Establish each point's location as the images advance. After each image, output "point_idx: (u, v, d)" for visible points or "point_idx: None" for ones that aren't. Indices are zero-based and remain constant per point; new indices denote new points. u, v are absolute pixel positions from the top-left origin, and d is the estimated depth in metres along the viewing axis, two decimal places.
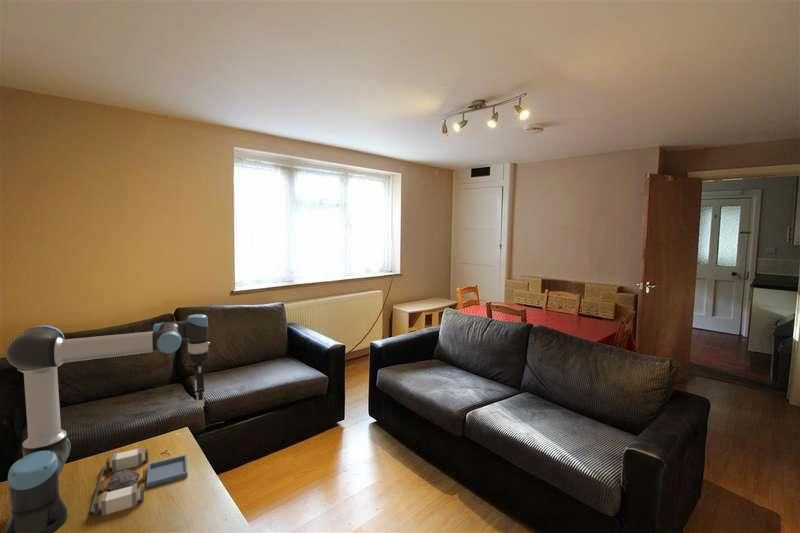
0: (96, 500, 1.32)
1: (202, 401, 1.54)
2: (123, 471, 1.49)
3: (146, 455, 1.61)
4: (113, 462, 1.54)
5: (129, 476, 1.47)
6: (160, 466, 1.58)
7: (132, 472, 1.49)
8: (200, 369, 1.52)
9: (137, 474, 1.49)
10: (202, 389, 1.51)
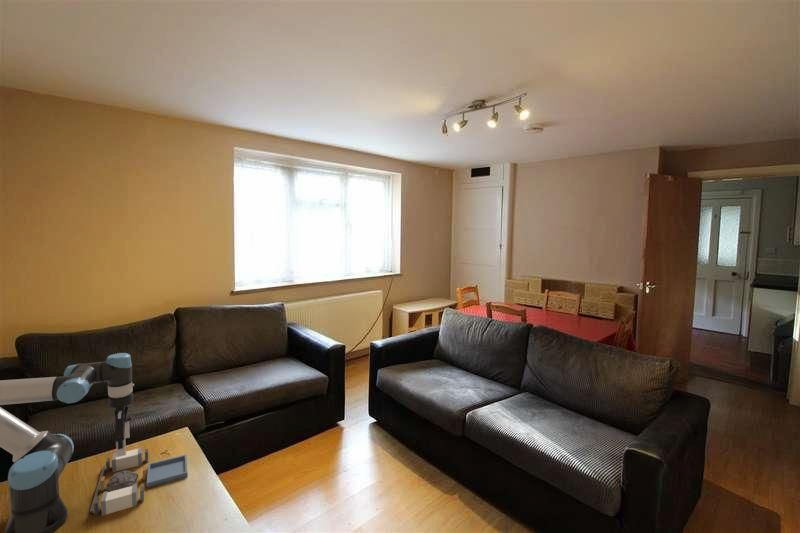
0: (96, 500, 1.32)
1: (123, 450, 1.40)
2: (122, 472, 1.49)
3: (146, 455, 1.61)
4: (113, 462, 1.54)
5: (128, 477, 1.46)
6: (160, 466, 1.58)
7: (131, 473, 1.49)
8: (120, 415, 1.39)
9: (136, 475, 1.48)
10: (121, 438, 1.37)
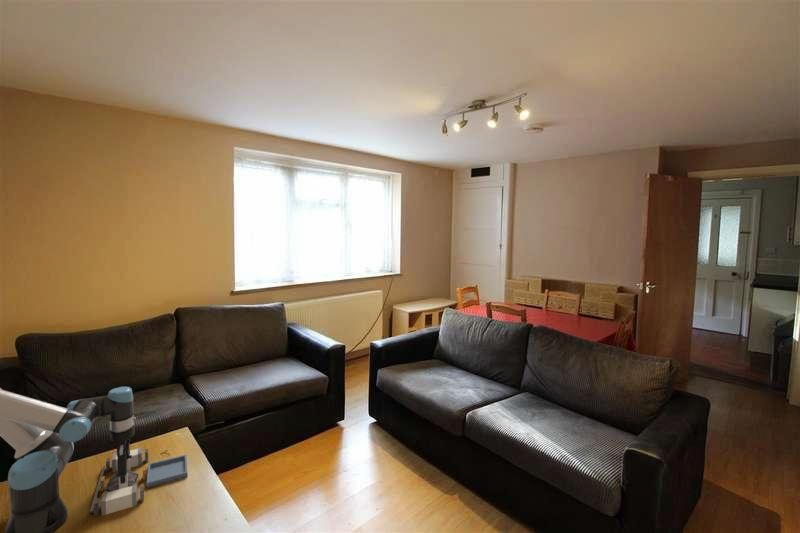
0: (96, 500, 1.32)
1: (125, 484, 1.43)
2: None
3: (146, 455, 1.61)
4: (113, 462, 1.54)
5: (128, 477, 1.46)
6: (160, 466, 1.58)
7: (131, 473, 1.49)
8: (121, 452, 1.40)
9: (136, 475, 1.48)
10: (123, 473, 1.40)
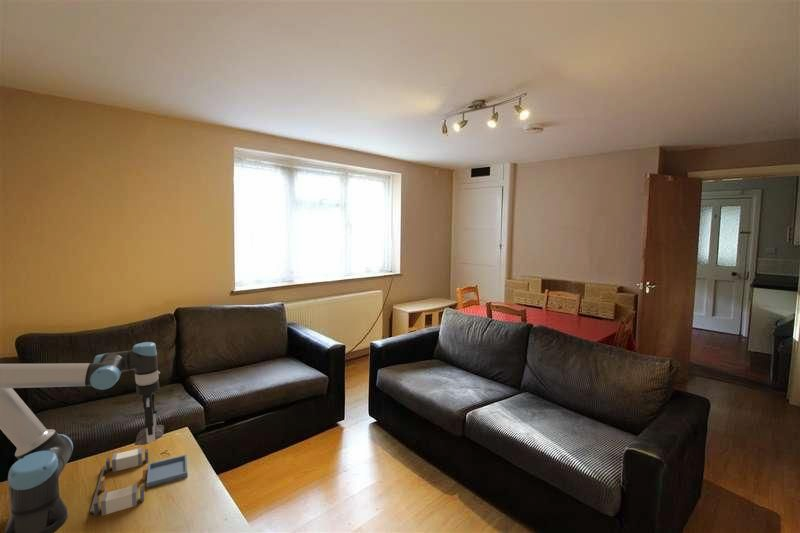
0: (96, 500, 1.32)
1: (152, 436, 1.46)
2: None
3: (146, 455, 1.61)
4: (113, 462, 1.54)
5: None
6: (160, 466, 1.58)
7: (156, 426, 1.52)
8: (148, 404, 1.43)
9: (162, 426, 1.52)
10: (151, 424, 1.43)
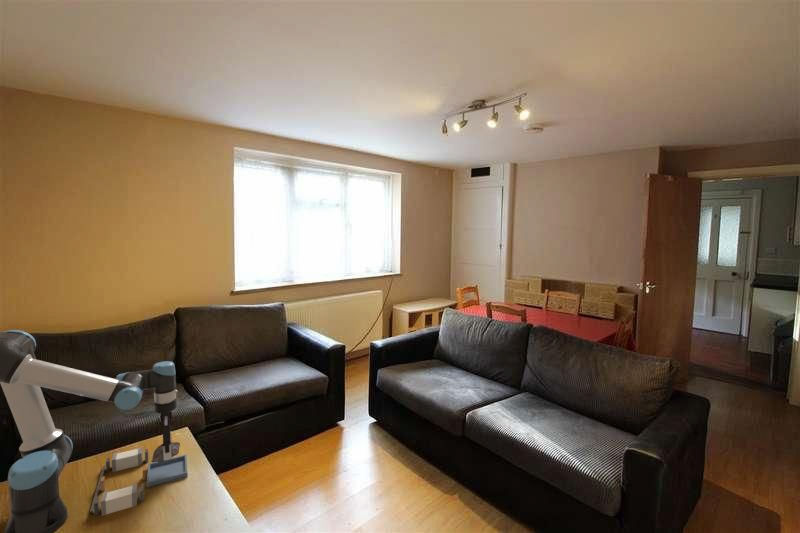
0: (96, 500, 1.32)
1: (169, 453, 1.50)
2: None
3: (146, 455, 1.61)
4: (113, 462, 1.54)
5: None
6: (160, 466, 1.58)
7: (172, 443, 1.55)
8: (166, 422, 1.47)
9: (178, 443, 1.55)
10: (168, 443, 1.47)
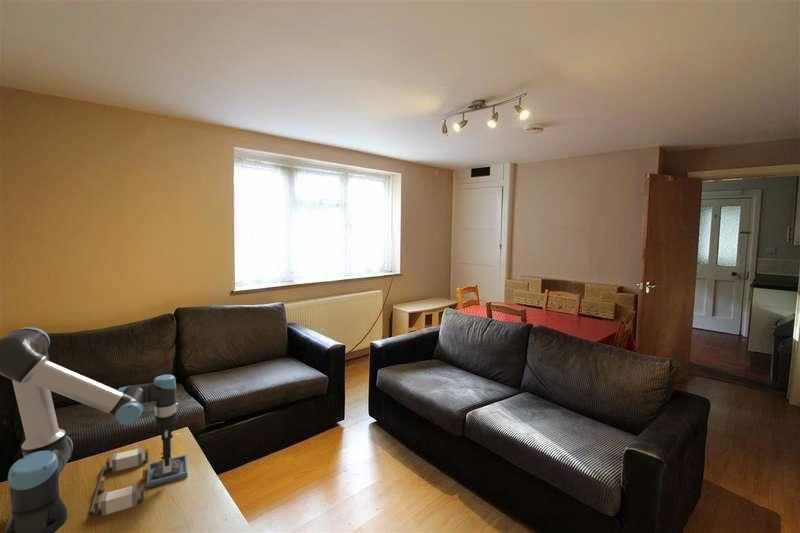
0: (96, 500, 1.32)
1: (169, 466, 1.48)
2: None
3: (146, 455, 1.61)
4: (113, 462, 1.54)
5: (173, 464, 1.54)
6: None
7: (175, 460, 1.56)
8: (166, 434, 1.47)
9: (180, 462, 1.56)
10: (168, 455, 1.46)
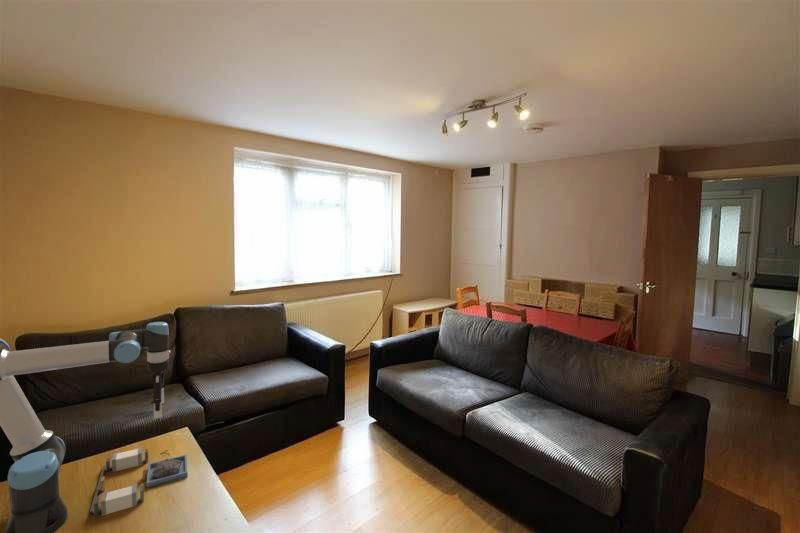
0: (96, 500, 1.32)
1: (159, 412, 1.49)
2: (166, 460, 1.56)
3: (146, 455, 1.61)
4: (113, 462, 1.54)
5: (173, 464, 1.54)
6: None
7: (175, 461, 1.56)
8: (158, 379, 1.48)
9: (180, 462, 1.56)
10: (158, 400, 1.46)
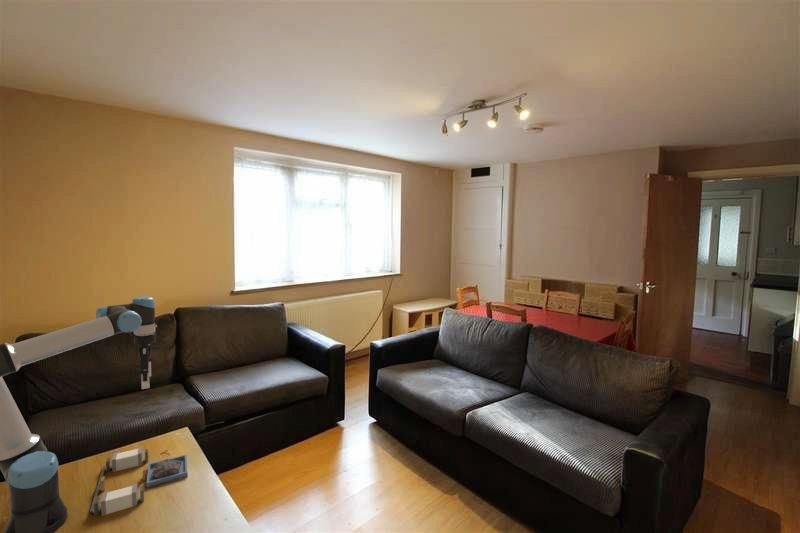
0: (96, 500, 1.32)
1: (147, 383, 1.54)
2: (166, 460, 1.56)
3: (146, 455, 1.61)
4: (113, 462, 1.54)
5: (172, 464, 1.54)
6: None
7: (175, 461, 1.56)
8: (145, 351, 1.53)
9: (179, 463, 1.56)
10: (146, 370, 1.51)
